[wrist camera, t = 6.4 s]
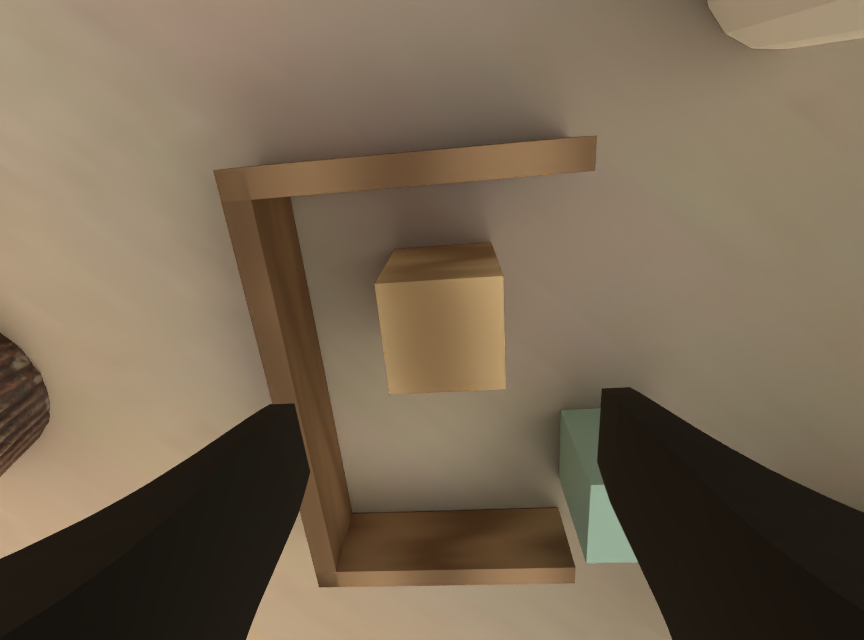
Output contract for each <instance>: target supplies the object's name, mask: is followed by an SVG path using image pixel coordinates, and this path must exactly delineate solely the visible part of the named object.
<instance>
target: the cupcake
mask: <svg viewBox="0 0 864 640" xmlns="http://www.w3.org/2000/svg"><path fill="white" fill-rule="evenodd" d="M49 409H50V402H49V396H48V392H47V389H46V387H45V385H44V382H43V379H42V376H41V374H40V373H39V372H38V371H37V370H36V369H35V368H34V366H33V365H32V363H31V362H30V360H29V358H28V357H27V356H26V354H25V353H24V352H23V351H22V350H21V349H20V348H19V347H18V346H17V345H16V344H15V343H13V342H12V341H11V340H9V339H8V338H6V337H5V336H3V335H2V334H1V333H0V476H1V475H2V474H3V473H4V472H5V471H6V470H7V469H8V468H9V467H10V466H11V465H12V464H13V463H14V462H15V461H16V460H17V459H18V458H19V457H20V456H21V455H22V454H23V453H24V452H25V451H26V450H27V449H28V448H29V447H30V446H31V445H32V444H33V443H34V442H35V441H36V440H37V439H38V438H39V437H40V435H41V433H42V432H43V430H44V428H45V427H46V425H47V424H48V422H49V417H50V414H49Z"/></svg>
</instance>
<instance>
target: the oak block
mask: <svg viewBox="0 0 864 640" xmlns="http://www.w3.org/2000/svg"><path fill="white" fill-rule="evenodd" d="M375 291H376V299H377V306H378V314H379V321H380V329H381V336H382V344H383V351H384V359H385V367H386V374H387V382H388V389H389V394H410V393H433V392H456V391H479V390H502V389H506V386H505V337H504V289H503V274H502V271H501V268H500V266H499V263H498V260H497V257H496V255H495V252H494V249H493V246H492V244H491V242H489V243H475V244H460V245H446V246H431V247H417V248H402V249H395V250H394V251H393V253H392V255H391V256H390V258H389V260H388V262H387V263H386V265H385V267H384V268H383V270H382V272H381V274H380V275H379V277H378V279H377V280H376V282H375Z"/></svg>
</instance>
